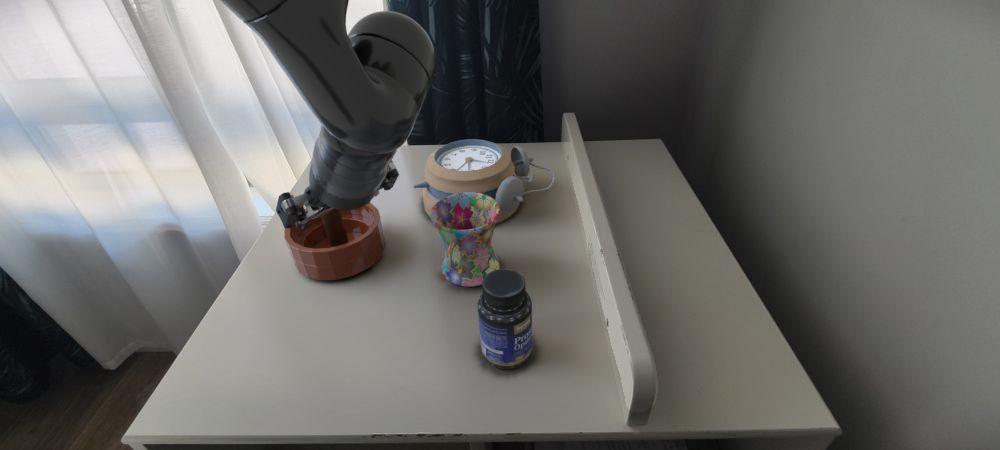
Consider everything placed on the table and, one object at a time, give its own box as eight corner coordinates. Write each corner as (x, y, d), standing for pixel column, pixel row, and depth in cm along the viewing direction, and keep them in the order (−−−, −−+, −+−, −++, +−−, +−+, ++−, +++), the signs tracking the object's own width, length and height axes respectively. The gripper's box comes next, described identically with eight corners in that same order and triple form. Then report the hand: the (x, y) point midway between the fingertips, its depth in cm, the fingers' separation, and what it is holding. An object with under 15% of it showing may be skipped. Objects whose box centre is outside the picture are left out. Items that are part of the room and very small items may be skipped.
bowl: (315, 298, 68) (303, 265, 64) (284, 251, 77) (272, 220, 73) (402, 257, 74) (395, 225, 71) (363, 219, 83) (356, 188, 80)
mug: (451, 247, 76) (444, 189, 70) (509, 255, 74) (507, 195, 68) (422, 301, 67) (411, 239, 60) (488, 311, 64) (483, 248, 58)
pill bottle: (524, 376, 56) (522, 307, 49) (474, 364, 58) (466, 296, 51) (538, 337, 61) (538, 269, 54) (491, 326, 62) (486, 259, 56)
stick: (336, 258, 74) (315, 190, 67) (329, 249, 76) (308, 182, 69) (353, 250, 75) (335, 183, 68) (346, 242, 77) (327, 175, 70)
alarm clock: (432, 130, 89) (559, 135, 86) (438, 174, 95) (558, 181, 91) (401, 177, 76) (550, 185, 72) (410, 225, 81) (549, 235, 77)
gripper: (394, 114, 55) (369, 168, 69) (265, 154, 48) (266, 204, 62) (424, 173, 55) (393, 214, 69) (298, 221, 48) (292, 256, 62)
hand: (333, 209), depth 66 cm, fingers open, 8 cm apart
